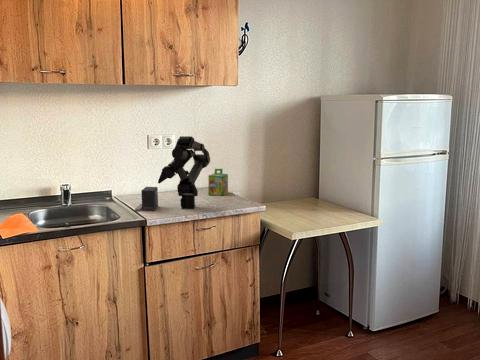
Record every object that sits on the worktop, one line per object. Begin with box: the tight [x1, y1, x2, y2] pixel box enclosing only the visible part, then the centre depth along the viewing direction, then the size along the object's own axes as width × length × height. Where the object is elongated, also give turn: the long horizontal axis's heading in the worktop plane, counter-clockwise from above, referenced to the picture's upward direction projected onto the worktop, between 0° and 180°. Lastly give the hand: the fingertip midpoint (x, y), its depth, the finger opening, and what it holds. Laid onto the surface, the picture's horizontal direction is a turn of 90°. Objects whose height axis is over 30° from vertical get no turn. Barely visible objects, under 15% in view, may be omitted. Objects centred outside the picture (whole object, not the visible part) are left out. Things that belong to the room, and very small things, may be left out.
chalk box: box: [207, 168, 229, 197], centre depth 269 cm, size 9×9×15 cm
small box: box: [140, 186, 159, 212], centre depth 234 cm, size 11×6×10 cm, turn 179°
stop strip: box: [134, 203, 142, 212], centre depth 235 cm, size 2×12×1 cm, turn 178°
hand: (159, 182), depth 233 cm, fingers open, 6 cm apart
